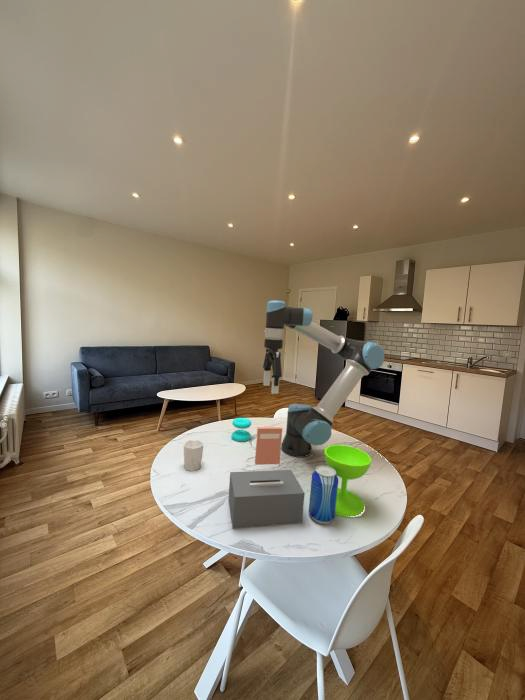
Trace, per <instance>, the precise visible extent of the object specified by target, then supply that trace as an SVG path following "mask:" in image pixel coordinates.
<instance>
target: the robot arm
mask: <svg viewBox="0 0 525 700" xmlns="http://www.w3.org/2000/svg"><path fill="white" fill-rule="evenodd" d="M265 313H266V314H265V315H266V316H265V329H264V331H263V333H264V337H265V339H264V342H263V346H264V349H265V348H266V349H265V355H264V361H263V366H262V368H263V370H264V371H263V381H262V382H263V383H262V384H263V386H266V387H267V386H268V387H270V385H271V392H270V393H271V394H272V395H273V394H274V395H278V394H279V391H280V389H279V388H280V378H282V375H283V374H282V359H281V356H282V354H281V352H280V351H279V350H281V349H282V350H283V342H284V341H283V339H284V333H285V332H284V331H285V329H284V328H285V327H287V328H290V329H291V330H292V331H295V332H296V333H299V334H301V335H302V336H305V337H306V338H308V339H310V340H312V341H314V342H316V343H318V344H320V345H322V346H323V347H326V348H327V349H329V350H331V353H333V354H335V355H336V356H338V357H339V358H341V359H343V360H344V361H346V365H345V367H344V368H343V370H342V371H341V372H340V374H339V375H338V377H337V378H336V379H335V380H334V382H333V383H332V385H331V386H330V388H328V391H327V392H326V393H325V394H324V395H323V397H322V398H321V399H320V401H319V403H318V404H317V405H316V406H312V405H309V404H303V403H292V404H290V405H289V406H288V409H287V417H286V418H287V419H286V431H285V434H284V437H283V438H282V439H283V440H282V441H281V451H282V452H283V453H284V454H286V455H289V456H292V457H295V456H306V455H309V454H310V453H311V452H313V451H312V450H313V447H312V446H322V445H324V444H325V443H327V442H328V441H329V440H330V438H331V436H332V426H333V425H334V417H335V416H336V415H337V413H338V411H339V410H340V409H341V408H342V405H343V404H344V403H345V402H346V400H347V399H348V397H349V396H350V395H351V393H352V392H353V390H354V389H355V388H356V386H357V385H358V383H359V382H360V380H361V379H362V378H363V377H364V376H368V375H369V374H370V373H371V372H372V370H376V369H379V368H380V367H382V366H383V363H384V362H385V361H384V360H385V351H384V348H383V347H382V346H381V345H380V344H379V343H377V342H373V341H364V340H358V339H357V340H356V339H351V338H347V337H345V336H343V335H337V334H335V333H333V332H332V331H330V330H328V329H326V328H325V327H323V326H321V325H319V324H317V323H315V322H313V312H312V310H311V309H310V308H307V307H292V306H291V307H290V306H287V305H286V302H285V301H283V300H269V301H268V302H267V305H266V311H265ZM271 371H272V372H271ZM271 373H272V375H271ZM271 378H272V379H271ZM270 383H271V384H270ZM311 454H312V453H311ZM311 454H310V455H311ZM310 455H309V456H310ZM306 457H307V456H306Z"/></svg>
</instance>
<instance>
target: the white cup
mask: <svg viewBox="0 0 525 700" xmlns="http://www.w3.org/2000/svg"><path fill="white" fill-rule="evenodd" d="M203 452H204V442H203V441H201V440H198V439H190V440H187V441H185V442H184V443H183V462H184V465H183V467H184V470H186V471H188V472H193V471H197V470H200V469H201V467H202V461H203V460H202V459H203V454H204V453H203Z"/></svg>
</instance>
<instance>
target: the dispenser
mask: <svg viewBox="0 0 525 700" xmlns="http://www.w3.org/2000/svg"><path fill="white" fill-rule="evenodd" d="M304 502H305V492H304V490H303V488H302V486H301V485H300V482H299V481H298V479H297V477H296V476H295V474H294V472H293V471H292V469H281V470H280V469H277V470H275V469H274V470H273V469H272V470H250V471H230V472H229V487H228V506H229V513H230V520H231V527H232V529H242V528H255V527H256V528H257V527H268V526H269V527H270V526H280V525H293V524H302V523H303V515H304V514H303V513H304V504H305V503H304Z"/></svg>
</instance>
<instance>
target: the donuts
mask: <svg viewBox="0 0 525 700" xmlns="http://www.w3.org/2000/svg"><path fill="white" fill-rule="evenodd" d="M231 423H232V425H233V427H234V428H237V429H236V430H234V431H232V433H231V438H232V439H233V440H234V441H236V442H247V441H249V440H250V439H251V433H250V432H249V431H248V430H245V429H249V428H250V427H251V426H252V421H251V420H250V419H249V418H247V417H236V418H234V419H233V420H232V422H231Z"/></svg>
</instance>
